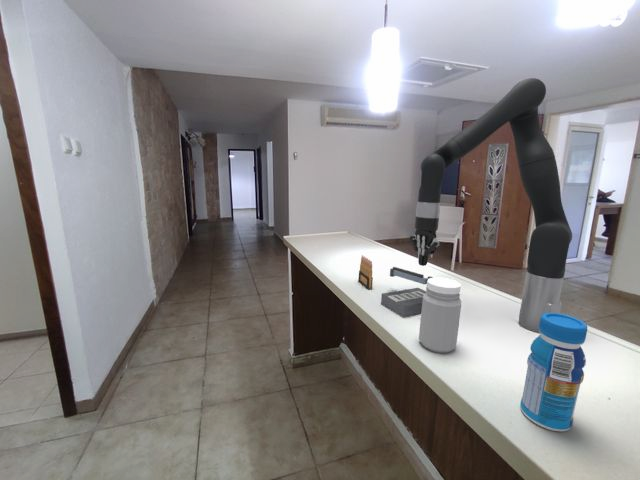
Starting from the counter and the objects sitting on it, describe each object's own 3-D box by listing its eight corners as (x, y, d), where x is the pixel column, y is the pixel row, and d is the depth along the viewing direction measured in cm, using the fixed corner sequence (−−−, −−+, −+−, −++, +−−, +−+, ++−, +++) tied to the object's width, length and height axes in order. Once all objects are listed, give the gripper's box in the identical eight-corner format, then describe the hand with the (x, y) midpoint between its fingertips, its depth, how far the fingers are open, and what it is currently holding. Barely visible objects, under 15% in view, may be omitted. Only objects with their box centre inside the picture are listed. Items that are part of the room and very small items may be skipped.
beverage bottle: (509, 407, 62) (525, 313, 58) (535, 396, 66) (552, 307, 62) (555, 440, 55) (577, 334, 51) (582, 425, 58) (605, 325, 54)
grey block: (442, 309, 109) (445, 282, 107) (403, 317, 101) (406, 288, 99) (418, 297, 120) (420, 272, 118) (380, 304, 112) (382, 277, 110)
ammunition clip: (372, 289, 126) (374, 261, 124) (367, 290, 126) (369, 261, 124) (362, 281, 136) (363, 254, 134) (358, 281, 136) (359, 254, 134)
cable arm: (423, 286, 113) (424, 276, 112) (389, 276, 124) (390, 267, 123) (427, 285, 114) (428, 275, 114) (393, 275, 126) (394, 266, 125)
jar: (438, 334, 91) (445, 275, 88) (464, 351, 82) (473, 286, 79) (410, 338, 88) (416, 277, 84) (434, 357, 79) (442, 290, 75)
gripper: (451, 217, 101) (445, 269, 105) (421, 213, 113) (417, 259, 116) (434, 218, 98) (428, 271, 101) (405, 213, 110) (401, 261, 113)
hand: (422, 265), depth 109 cm, fingers closed
